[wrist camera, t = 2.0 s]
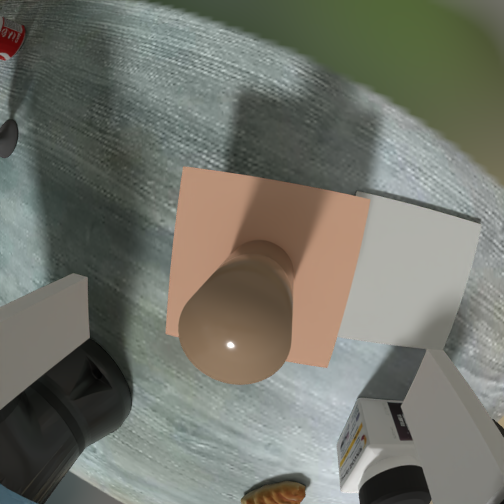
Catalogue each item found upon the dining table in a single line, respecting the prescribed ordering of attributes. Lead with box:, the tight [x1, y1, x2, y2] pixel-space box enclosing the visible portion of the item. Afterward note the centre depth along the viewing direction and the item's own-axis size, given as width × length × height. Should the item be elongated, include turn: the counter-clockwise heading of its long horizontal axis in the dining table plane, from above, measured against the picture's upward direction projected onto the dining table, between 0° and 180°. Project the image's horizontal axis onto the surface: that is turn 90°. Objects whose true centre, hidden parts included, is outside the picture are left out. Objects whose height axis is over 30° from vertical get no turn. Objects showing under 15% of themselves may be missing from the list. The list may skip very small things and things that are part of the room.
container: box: [337, 398, 432, 504], centre depth 23 cm, size 8×8×13 cm
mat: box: [337, 191, 482, 350], centre depth 26 cm, size 13×13×1 cm
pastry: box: [241, 481, 305, 504], centre depth 33 cm, size 9×7×4 cm
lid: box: [166, 167, 371, 385], centre depth 17 cm, size 12×12×10 cm
